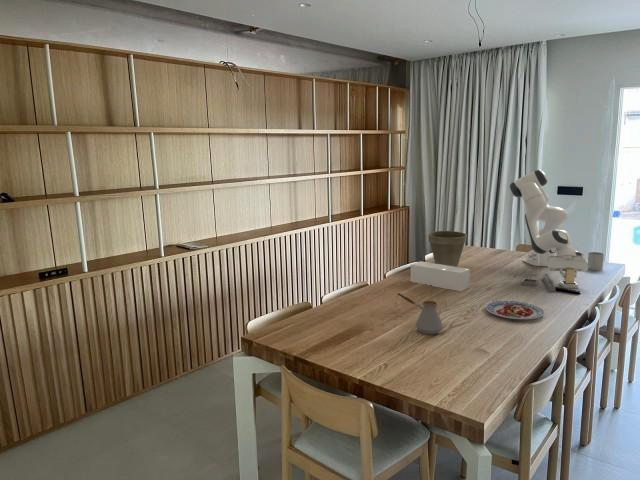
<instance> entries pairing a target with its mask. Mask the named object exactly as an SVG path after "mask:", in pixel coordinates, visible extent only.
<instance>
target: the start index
mask: <svg viewBox="0 0 640 480" xmlns="http://www.w3.org/2000/svg"><path fill="white" fill-rule="evenodd" d="M559 285H560V286H561V287H562V288H563V287H564V288H563V289H579V284H578V283H577V282H576V281H575V280H574V284H564V280H559Z"/></svg>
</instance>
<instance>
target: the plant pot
mask: <svg viewBox="0 0 640 480" xmlns="http://www.w3.org/2000/svg"><path fill="white" fill-rule="evenodd" d="M467 236H468V235H467V233H464V232H461V231H456V230H436V231H432V232H429V233H428V242H429V243H430V247H431V252H432V257H433V260H434V261H433V262H434V264H441V265H447V266H454V267H459V263H460V260H461V257H462V253H463V250H464V247H465V244H466V243H467V238H468V237H467Z"/></svg>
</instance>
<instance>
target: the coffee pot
mask: <svg viewBox="0 0 640 480" xmlns="http://www.w3.org/2000/svg"><path fill="white" fill-rule="evenodd" d="M398 297H401V298H403V299H404V300H405V301H407V302H409V303H410V304H412V305H414V306H415V307H418V308H419V309H420V310H421V313H420V314H419V316H418V319H417V320H416V323H415V327H416V328H417V330H418V331H419V332H420V333H422V334H423V335H431V336H432V335H436V334H438V333H439V332H441V331H442V330H443V328H444V324H443V322H442V320H441V317H440V314H439V312H438V310H437V305H438V302H436V301H434V300H423V301H422V302H421V305H422V306H421V305H419V304H418V303H416V302H414V301H413V300H411V299H410V298H409V297H407V296H405V295H404V294H401V292H397V294H396V298H398Z"/></svg>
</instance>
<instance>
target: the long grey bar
mask: <svg viewBox="0 0 640 480" xmlns="http://www.w3.org/2000/svg"><path fill="white" fill-rule="evenodd" d="M542 277H543V281H544V283H545V286H546V287H547V290H548V292H549V293H550V292H553V293H555V292H556V285H555V283H554V281H553V279H552V276H551V275H550V274H549V273H543V276H542Z"/></svg>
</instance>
